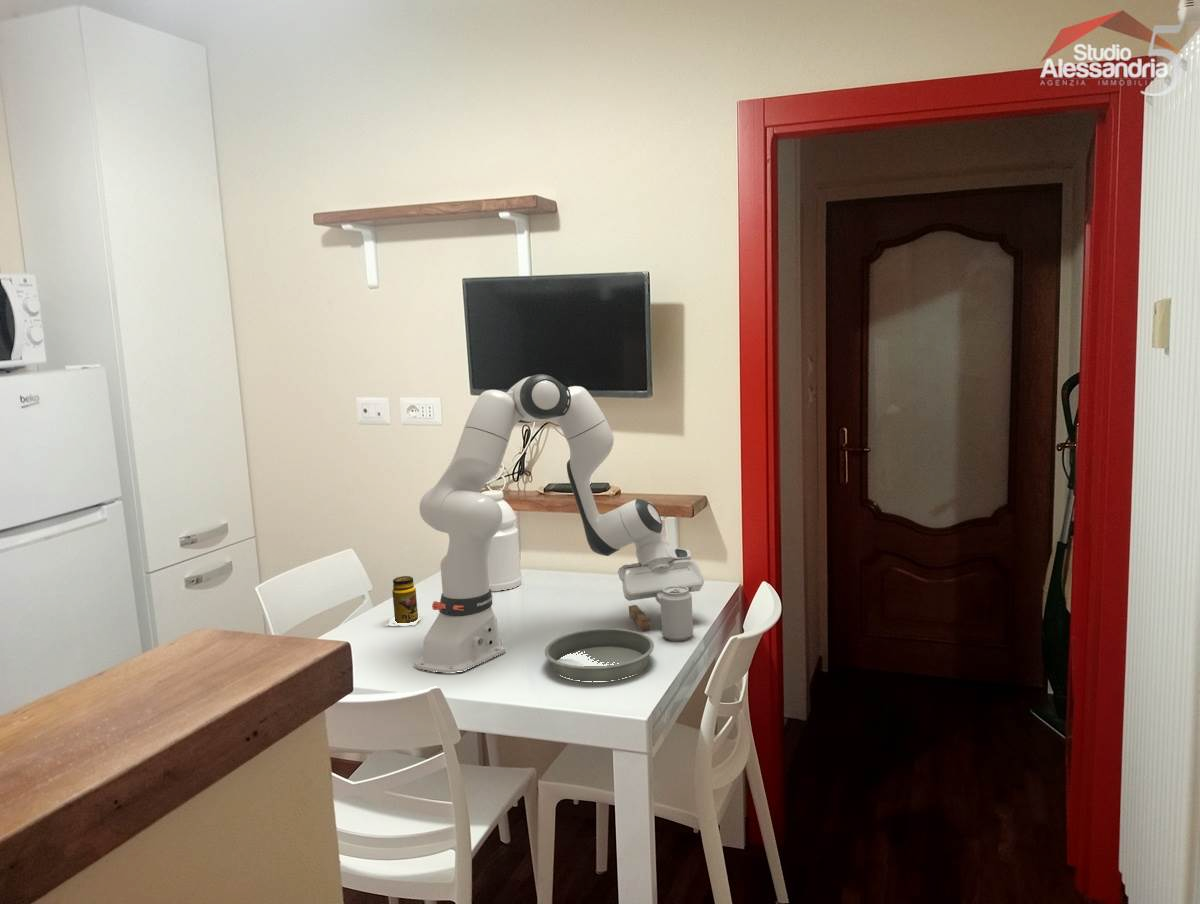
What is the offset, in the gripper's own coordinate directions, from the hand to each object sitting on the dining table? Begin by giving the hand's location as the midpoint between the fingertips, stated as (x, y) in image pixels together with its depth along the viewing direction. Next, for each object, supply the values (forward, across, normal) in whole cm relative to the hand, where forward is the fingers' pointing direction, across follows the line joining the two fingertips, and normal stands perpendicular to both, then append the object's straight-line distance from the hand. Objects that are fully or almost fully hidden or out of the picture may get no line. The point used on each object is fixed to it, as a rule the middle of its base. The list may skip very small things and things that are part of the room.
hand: (670, 609), depth 230 cm
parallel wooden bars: (-2, 0, +10) cm, 10 cm away
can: (+7, 0, +1) cm, 7 cm away
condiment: (-21, -63, +29) cm, 72 cm away
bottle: (-37, -34, +45) cm, 67 cm away
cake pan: (+14, -22, -6) cm, 27 cm away
